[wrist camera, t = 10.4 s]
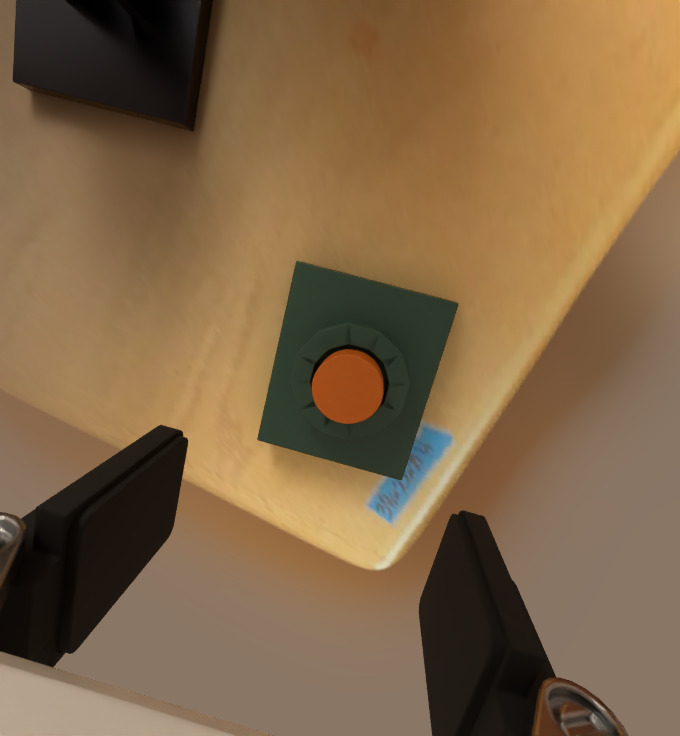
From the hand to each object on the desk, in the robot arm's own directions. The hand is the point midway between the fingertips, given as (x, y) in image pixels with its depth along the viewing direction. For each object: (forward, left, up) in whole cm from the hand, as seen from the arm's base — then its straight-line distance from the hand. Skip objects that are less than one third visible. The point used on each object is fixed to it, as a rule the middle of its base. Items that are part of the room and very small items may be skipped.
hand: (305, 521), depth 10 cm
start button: (0, 0, -14) cm, 14 cm away
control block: (0, 0, -18) cm, 18 cm away
